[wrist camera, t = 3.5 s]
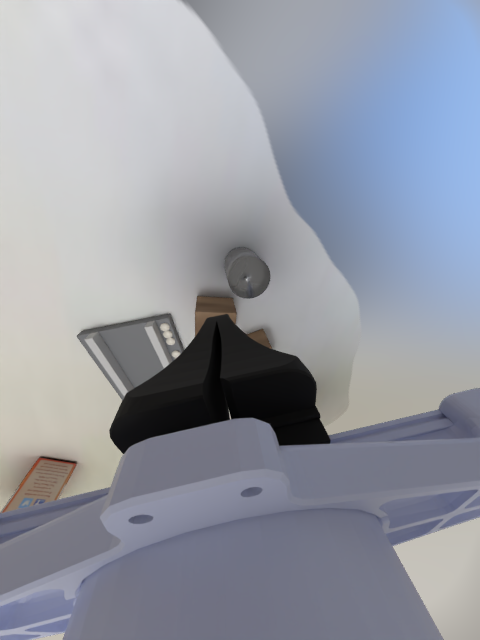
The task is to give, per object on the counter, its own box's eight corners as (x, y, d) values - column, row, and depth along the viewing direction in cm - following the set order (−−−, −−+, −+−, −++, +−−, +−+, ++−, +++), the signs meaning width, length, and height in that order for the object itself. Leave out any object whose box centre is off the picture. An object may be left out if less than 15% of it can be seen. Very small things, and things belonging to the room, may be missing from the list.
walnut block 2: (269, 350, 27) (278, 370, 24) (243, 359, 27) (248, 381, 24) (262, 328, 25) (271, 346, 22) (234, 338, 25) (237, 358, 22)
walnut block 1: (229, 327, 24) (232, 346, 21) (197, 326, 23) (195, 345, 20) (232, 297, 22) (236, 313, 19) (197, 295, 22) (195, 311, 18)
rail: (203, 401, 30) (203, 414, 28) (140, 415, 30) (135, 429, 28) (169, 313, 22) (166, 323, 20) (81, 331, 22) (69, 342, 20)
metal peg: (258, 277, 21) (271, 294, 17) (227, 283, 21) (232, 301, 17) (255, 244, 20) (268, 253, 15) (221, 250, 19) (224, 261, 15)
